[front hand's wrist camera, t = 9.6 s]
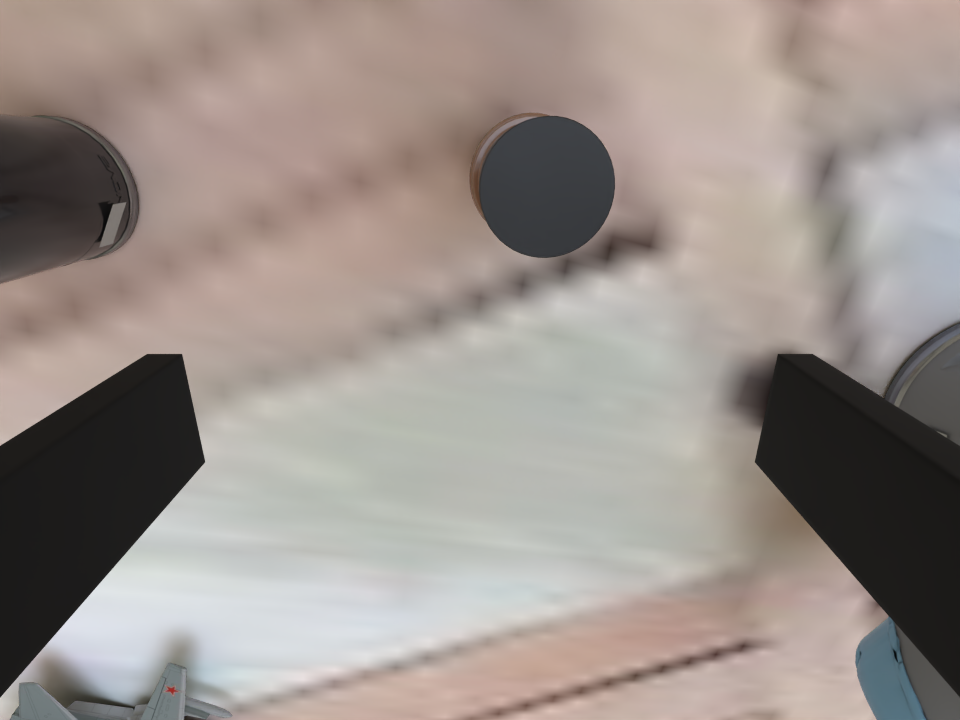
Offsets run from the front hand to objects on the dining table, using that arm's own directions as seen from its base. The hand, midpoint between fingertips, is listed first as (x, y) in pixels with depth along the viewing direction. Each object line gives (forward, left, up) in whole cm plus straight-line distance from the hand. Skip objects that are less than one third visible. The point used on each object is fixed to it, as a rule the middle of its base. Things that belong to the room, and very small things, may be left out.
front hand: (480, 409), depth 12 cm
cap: (-1, -5, -5) cm, 7 cm away
